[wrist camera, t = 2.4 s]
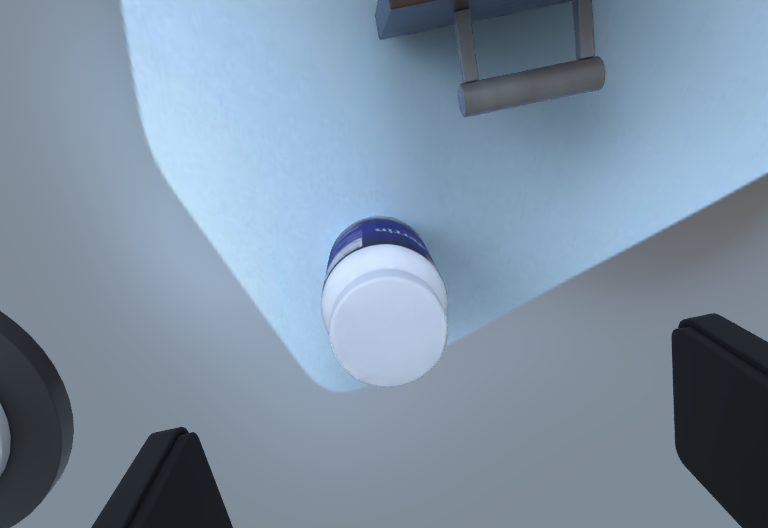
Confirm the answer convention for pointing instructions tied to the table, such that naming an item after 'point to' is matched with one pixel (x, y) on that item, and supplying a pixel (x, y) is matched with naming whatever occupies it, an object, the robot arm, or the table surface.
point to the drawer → (459, 7)
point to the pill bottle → (384, 303)
